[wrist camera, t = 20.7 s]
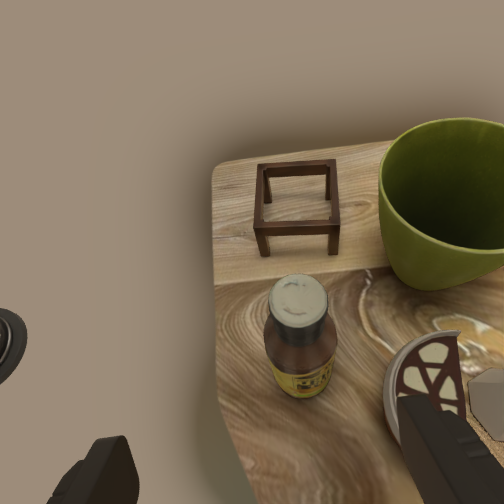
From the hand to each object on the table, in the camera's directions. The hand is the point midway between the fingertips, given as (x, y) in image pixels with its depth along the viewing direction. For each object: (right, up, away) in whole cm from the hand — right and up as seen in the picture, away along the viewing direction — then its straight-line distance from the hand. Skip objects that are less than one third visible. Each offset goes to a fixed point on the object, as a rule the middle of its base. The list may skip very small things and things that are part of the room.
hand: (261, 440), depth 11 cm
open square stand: (+6, +9, +41) cm, 42 cm away
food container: (+15, -11, +28) cm, 33 cm away
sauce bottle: (+5, -8, +31) cm, 32 cm away
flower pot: (+21, +4, +35) cm, 41 cm away
